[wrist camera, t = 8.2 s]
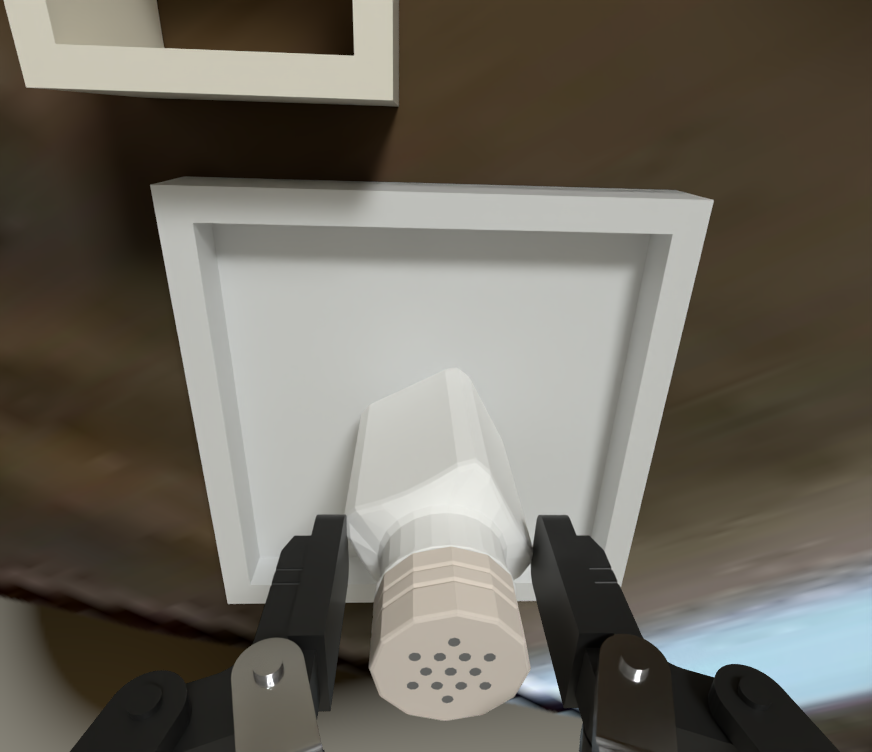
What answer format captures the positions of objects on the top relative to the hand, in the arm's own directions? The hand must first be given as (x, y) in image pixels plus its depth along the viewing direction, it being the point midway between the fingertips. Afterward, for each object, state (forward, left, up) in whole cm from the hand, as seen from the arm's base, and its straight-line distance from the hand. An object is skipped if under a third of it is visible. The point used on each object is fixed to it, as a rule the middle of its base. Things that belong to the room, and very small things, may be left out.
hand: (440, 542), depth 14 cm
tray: (0, 0, -8) cm, 8 cm away
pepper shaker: (0, 0, -6) cm, 6 cm away
